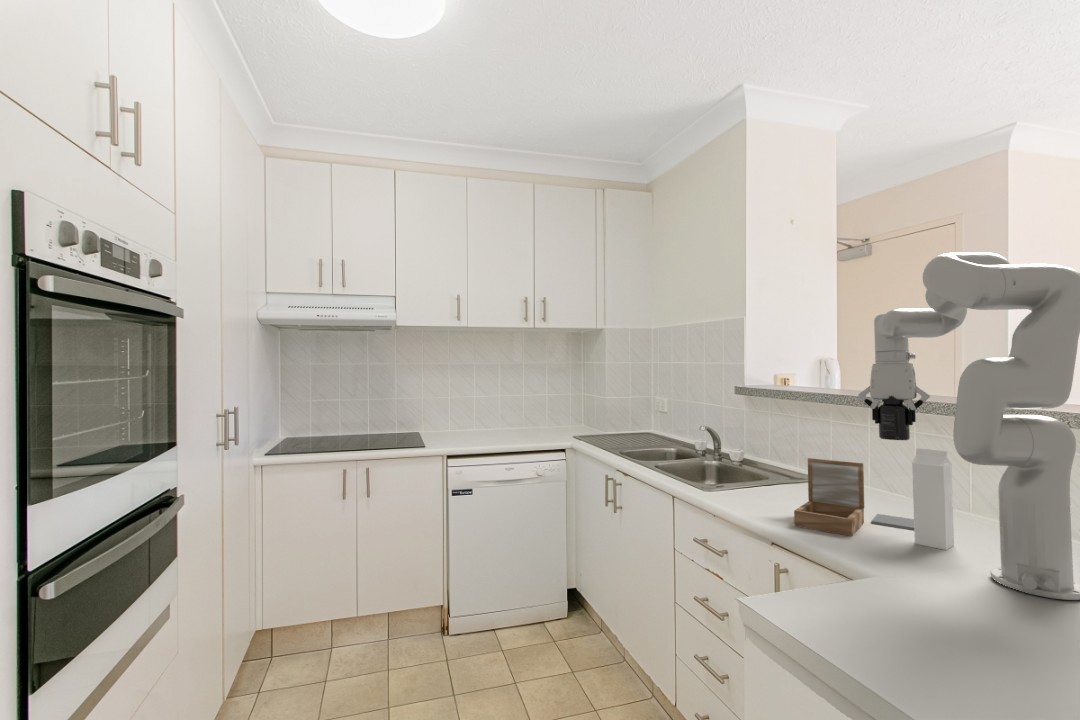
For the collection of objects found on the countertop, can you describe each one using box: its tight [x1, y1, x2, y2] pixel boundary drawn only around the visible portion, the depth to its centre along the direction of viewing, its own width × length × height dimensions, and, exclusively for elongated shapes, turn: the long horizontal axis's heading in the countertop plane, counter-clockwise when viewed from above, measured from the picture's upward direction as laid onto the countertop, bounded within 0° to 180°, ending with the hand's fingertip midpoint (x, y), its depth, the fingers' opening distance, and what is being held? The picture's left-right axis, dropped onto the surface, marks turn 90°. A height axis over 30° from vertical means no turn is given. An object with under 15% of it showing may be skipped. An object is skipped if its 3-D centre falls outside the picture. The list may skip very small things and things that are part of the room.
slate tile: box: [870, 513, 914, 531], centre depth 134 cm, size 10×10×1 cm
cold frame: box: [793, 457, 865, 537], centre depth 133 cm, size 16×13×16 cm
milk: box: [911, 448, 955, 551], centre depth 117 cm, size 6×6×22 cm
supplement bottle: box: [878, 395, 911, 441], centre depth 135 cm, size 7×7×12 cm
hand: (893, 423), depth 135 cm, fingers closed on supplement bottle, 6 cm apart
